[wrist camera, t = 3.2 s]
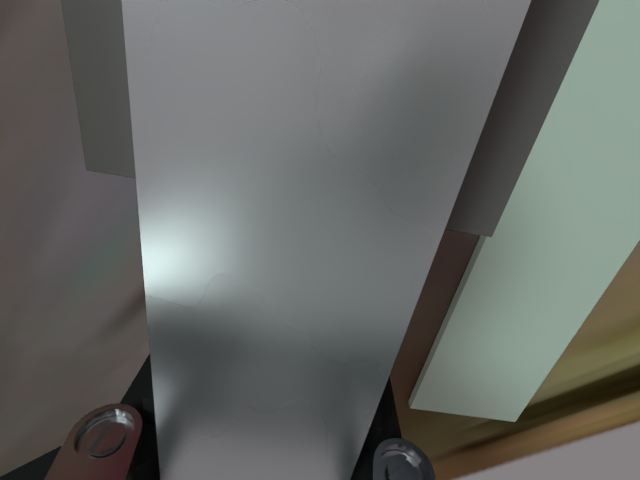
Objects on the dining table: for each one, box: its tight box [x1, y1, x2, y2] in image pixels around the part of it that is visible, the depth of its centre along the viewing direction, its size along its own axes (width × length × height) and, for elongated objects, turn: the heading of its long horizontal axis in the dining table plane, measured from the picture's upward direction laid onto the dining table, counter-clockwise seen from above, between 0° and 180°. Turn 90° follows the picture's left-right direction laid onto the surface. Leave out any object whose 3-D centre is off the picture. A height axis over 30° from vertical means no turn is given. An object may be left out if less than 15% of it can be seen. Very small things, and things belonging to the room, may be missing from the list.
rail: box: [122, 0, 531, 480], centre depth 8 cm, size 24×4×4 cm, turn 170°
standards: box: [61, 0, 599, 237], centre depth 13 cm, size 7×24×12 cm, turn 170°
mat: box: [408, 0, 640, 422], centre depth 19 cm, size 8×26×1 cm, turn 170°
